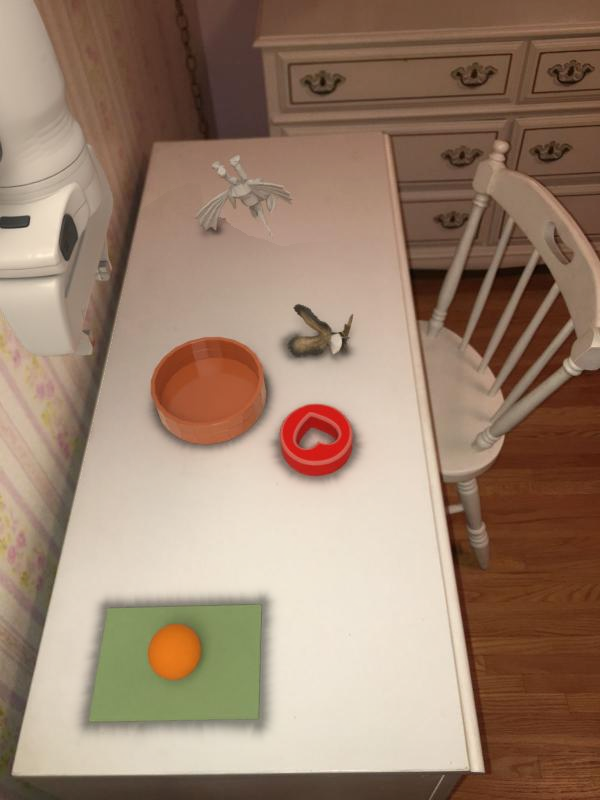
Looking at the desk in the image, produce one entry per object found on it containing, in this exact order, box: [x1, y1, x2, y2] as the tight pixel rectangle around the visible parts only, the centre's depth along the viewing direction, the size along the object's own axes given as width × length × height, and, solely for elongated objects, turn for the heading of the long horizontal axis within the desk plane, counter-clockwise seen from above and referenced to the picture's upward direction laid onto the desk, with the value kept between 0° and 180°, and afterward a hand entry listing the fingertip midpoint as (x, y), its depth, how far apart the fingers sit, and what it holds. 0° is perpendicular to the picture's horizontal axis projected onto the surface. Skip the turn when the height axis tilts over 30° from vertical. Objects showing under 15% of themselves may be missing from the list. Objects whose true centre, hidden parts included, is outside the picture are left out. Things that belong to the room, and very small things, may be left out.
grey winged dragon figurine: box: [194, 154, 295, 239], centre depth 109 cm, size 10×18×14 cm, turn 85°
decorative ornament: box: [279, 403, 354, 477], centre depth 86 cm, size 10×10×3 cm
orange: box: [148, 624, 201, 680], centre depth 69 cm, size 6×6×6 cm
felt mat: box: [88, 604, 263, 723], centre depth 71 cm, size 18×12×1 cm, turn 90°
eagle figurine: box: [286, 303, 354, 357], centre depth 95 cm, size 8×7×9 cm
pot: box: [150, 336, 267, 445], centre depth 91 cm, size 16×16×4 cm
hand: (94, 310), depth 60 cm, fingers open, 8 cm apart
